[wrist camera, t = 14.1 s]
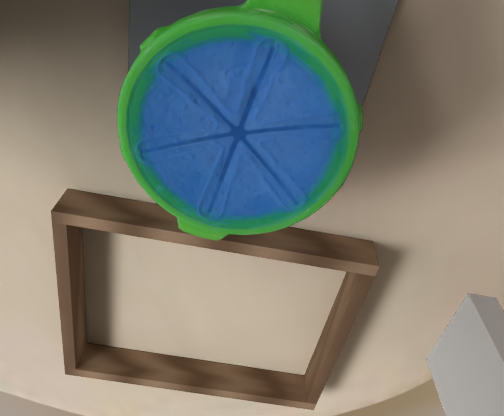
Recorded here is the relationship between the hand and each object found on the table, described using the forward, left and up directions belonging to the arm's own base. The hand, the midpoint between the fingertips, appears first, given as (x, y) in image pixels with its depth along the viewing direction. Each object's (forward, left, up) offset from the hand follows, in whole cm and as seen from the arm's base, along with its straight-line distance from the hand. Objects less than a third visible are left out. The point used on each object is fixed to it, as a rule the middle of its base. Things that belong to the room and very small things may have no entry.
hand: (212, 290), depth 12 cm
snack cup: (0, 0, -19) cm, 19 cm away
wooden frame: (0, -21, -20) cm, 29 cm away
